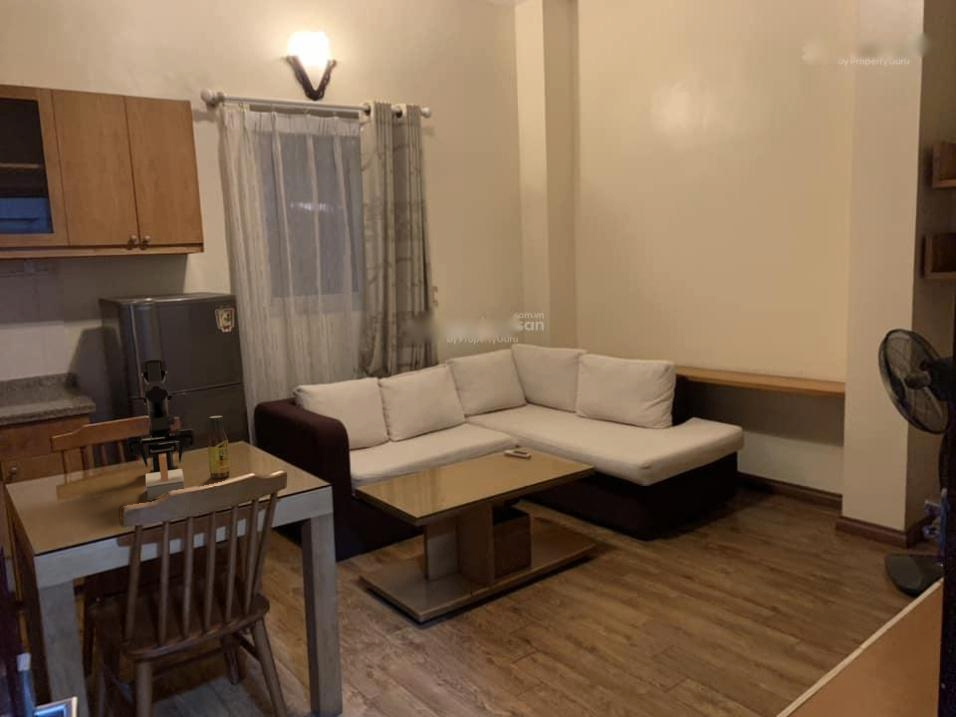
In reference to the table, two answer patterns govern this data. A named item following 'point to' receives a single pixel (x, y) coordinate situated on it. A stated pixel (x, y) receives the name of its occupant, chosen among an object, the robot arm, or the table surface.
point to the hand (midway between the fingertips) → (163, 464)
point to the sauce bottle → (218, 449)
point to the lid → (164, 474)
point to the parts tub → (163, 489)
